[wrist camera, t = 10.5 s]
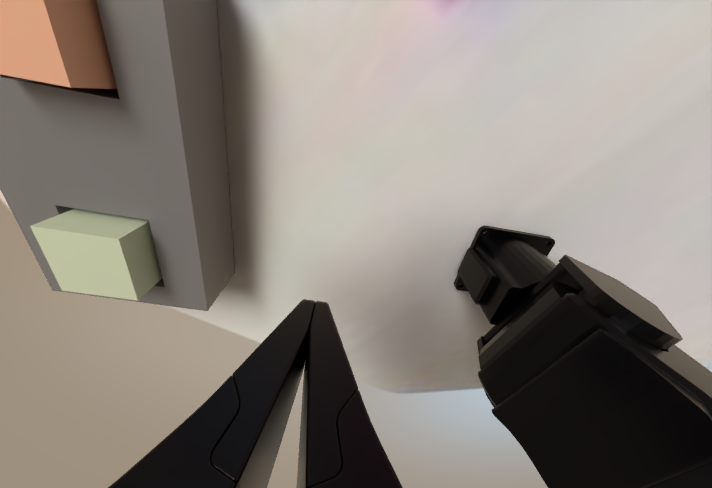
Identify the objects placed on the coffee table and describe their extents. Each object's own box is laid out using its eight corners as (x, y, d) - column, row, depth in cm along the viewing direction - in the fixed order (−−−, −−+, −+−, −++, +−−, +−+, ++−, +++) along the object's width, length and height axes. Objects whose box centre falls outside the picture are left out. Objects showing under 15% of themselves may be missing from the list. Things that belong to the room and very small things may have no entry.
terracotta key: (141, -11, 14) (21, -71, 9) (158, 90, 16) (70, 87, 11) (46, -32, 13) (-134, -106, 8) (77, 74, 15) (-50, 65, 11)
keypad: (213, -43, 14) (147, -106, 10) (234, 272, 24) (207, 311, 20) (-11, -96, 13) (-195, -190, 9) (109, 254, 23) (52, 290, 19)
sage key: (178, 204, 19) (118, 239, 15) (186, 255, 22) (137, 300, 17) (112, 193, 19) (30, 225, 14) (128, 246, 21) (61, 290, 16)
